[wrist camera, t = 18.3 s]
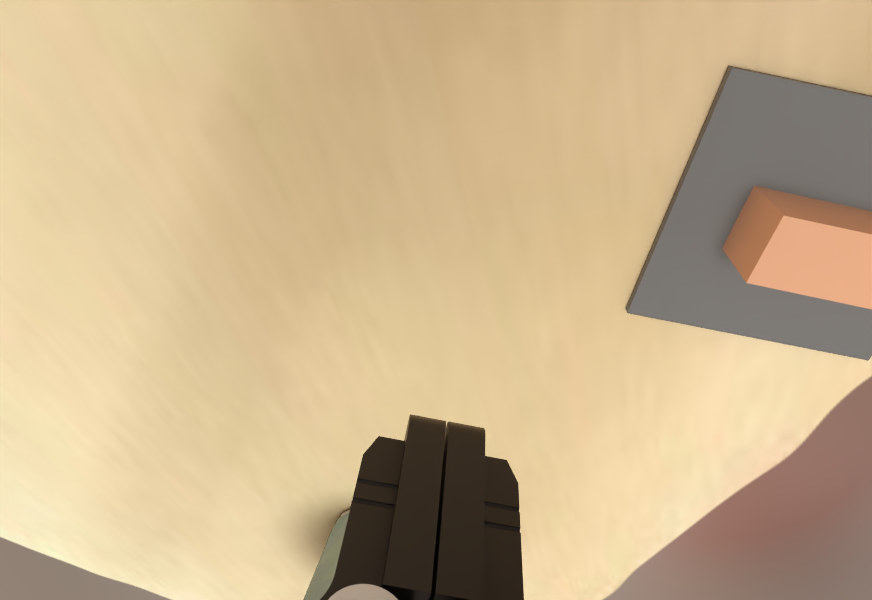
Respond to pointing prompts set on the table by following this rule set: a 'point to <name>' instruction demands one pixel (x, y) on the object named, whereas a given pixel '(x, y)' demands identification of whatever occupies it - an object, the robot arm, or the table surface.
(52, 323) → the table surface
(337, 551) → the disposable coffee cup
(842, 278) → the terracotta block
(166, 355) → the table surface
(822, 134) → the charcoal mat
